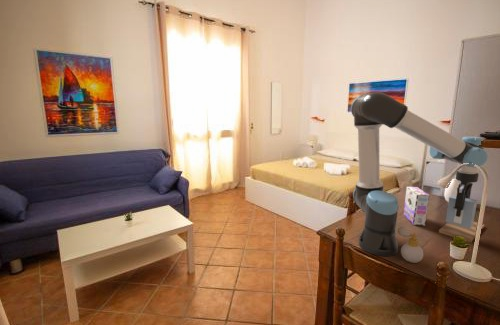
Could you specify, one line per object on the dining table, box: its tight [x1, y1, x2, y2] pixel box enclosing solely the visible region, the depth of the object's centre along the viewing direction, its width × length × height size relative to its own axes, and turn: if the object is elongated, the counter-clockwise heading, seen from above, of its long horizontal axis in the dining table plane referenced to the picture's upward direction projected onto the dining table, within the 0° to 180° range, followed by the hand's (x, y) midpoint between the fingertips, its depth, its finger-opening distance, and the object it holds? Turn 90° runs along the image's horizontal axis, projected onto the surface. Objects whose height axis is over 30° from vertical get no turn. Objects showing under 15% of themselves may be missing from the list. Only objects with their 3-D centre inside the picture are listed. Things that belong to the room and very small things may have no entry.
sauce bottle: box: [444, 174, 460, 203], centre depth 156 cm, size 8×8×18 cm
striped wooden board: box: [438, 221, 485, 243], centre depth 125 cm, size 24×12×1 cm, turn 128°
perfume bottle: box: [397, 226, 424, 264], centre depth 100 cm, size 8×10×12 cm
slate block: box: [445, 195, 478, 228], centre depth 118 cm, size 5×9×12 cm, turn 38°
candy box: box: [403, 186, 430, 226], centre depth 134 cm, size 14×6×16 cm, turn 168°
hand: (459, 220), depth 119 cm, fingers closed on slate block, 5 cm apart
